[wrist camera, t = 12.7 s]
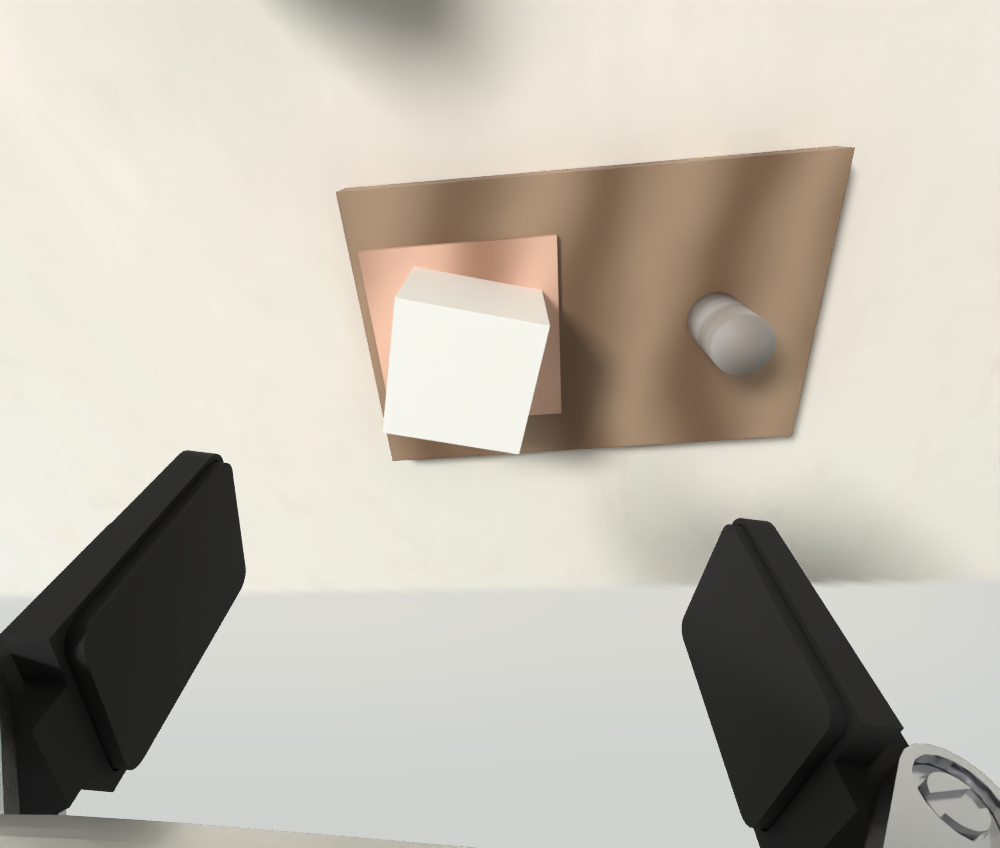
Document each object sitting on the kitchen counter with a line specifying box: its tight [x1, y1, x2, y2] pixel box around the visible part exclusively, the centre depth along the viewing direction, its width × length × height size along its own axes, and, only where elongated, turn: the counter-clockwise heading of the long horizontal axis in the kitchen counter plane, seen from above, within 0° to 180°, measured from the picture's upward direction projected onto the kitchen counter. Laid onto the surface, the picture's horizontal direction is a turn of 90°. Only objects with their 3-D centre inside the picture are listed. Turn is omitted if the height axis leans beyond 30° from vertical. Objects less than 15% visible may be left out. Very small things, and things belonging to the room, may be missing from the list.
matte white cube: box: [383, 266, 550, 454], centre depth 24 cm, size 6×6×5 cm
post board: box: [336, 146, 855, 461], centre depth 25 cm, size 22×14×5 cm, turn 95°
